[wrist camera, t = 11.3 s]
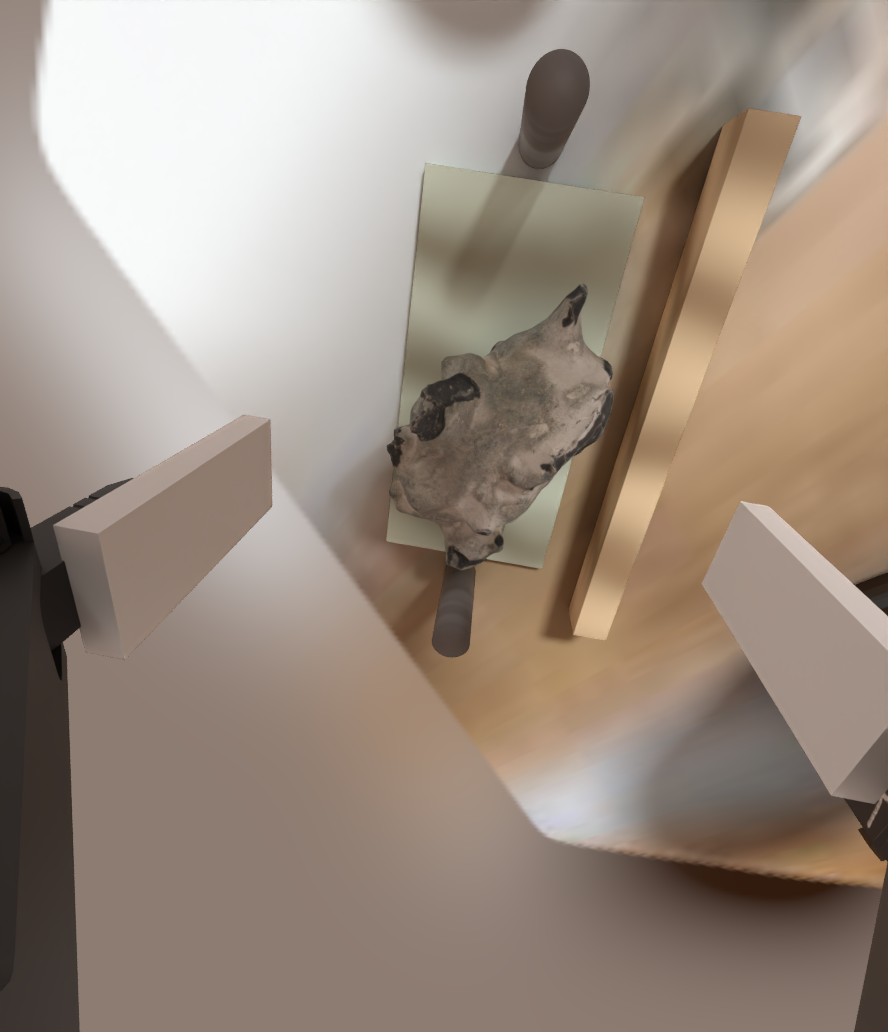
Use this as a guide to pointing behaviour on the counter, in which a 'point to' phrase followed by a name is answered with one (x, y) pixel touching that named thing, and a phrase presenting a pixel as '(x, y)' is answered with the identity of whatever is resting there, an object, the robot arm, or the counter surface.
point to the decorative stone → (500, 431)
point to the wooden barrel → (884, 812)
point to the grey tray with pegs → (542, 287)
